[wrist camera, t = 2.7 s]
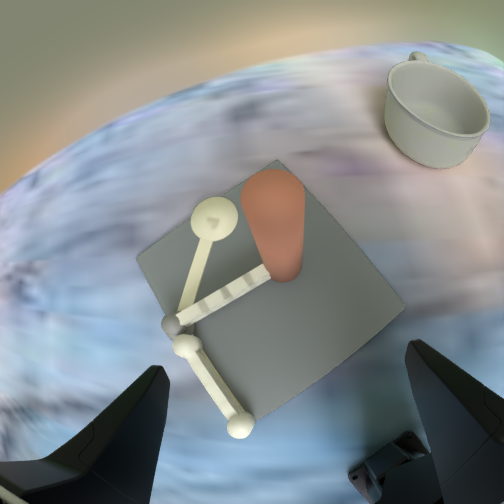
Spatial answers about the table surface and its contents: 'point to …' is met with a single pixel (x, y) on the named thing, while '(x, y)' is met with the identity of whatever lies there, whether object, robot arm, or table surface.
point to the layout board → (270, 300)
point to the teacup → (433, 113)
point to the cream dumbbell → (214, 386)
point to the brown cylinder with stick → (259, 242)
